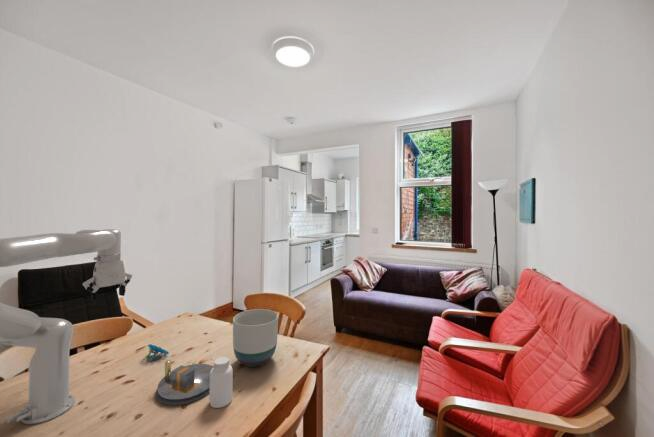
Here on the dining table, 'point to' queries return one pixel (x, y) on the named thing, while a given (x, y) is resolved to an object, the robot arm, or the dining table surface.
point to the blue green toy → (156, 349)
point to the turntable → (200, 387)
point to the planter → (255, 336)
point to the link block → (183, 378)
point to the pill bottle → (221, 383)
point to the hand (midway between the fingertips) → (108, 298)
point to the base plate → (178, 403)
